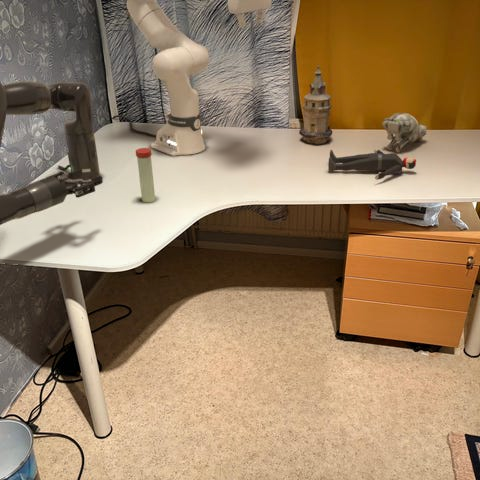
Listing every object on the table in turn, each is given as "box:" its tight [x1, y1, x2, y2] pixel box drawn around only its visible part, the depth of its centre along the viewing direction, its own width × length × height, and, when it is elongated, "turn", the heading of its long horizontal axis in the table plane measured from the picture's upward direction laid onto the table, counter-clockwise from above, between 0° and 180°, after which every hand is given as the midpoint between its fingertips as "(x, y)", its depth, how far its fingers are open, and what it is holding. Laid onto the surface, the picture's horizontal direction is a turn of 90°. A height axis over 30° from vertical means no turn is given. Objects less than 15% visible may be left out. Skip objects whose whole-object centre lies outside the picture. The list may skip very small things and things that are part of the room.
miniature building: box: [298, 65, 333, 145], centre depth 213 cm, size 13×14×30 cm
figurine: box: [381, 112, 428, 153], centre depth 209 cm, size 10×19×20 cm
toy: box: [327, 149, 417, 181], centre depth 190 cm, size 26×6×30 cm
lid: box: [135, 147, 153, 158], centre depth 165 cm, size 5×5×2 cm
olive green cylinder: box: [136, 155, 156, 203], centre depth 169 cm, size 4×4×16 cm
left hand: (91, 175), depth 151 cm, fingers open, 8 cm apart
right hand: (250, 25), depth 175 cm, fingers open, 8 cm apart
